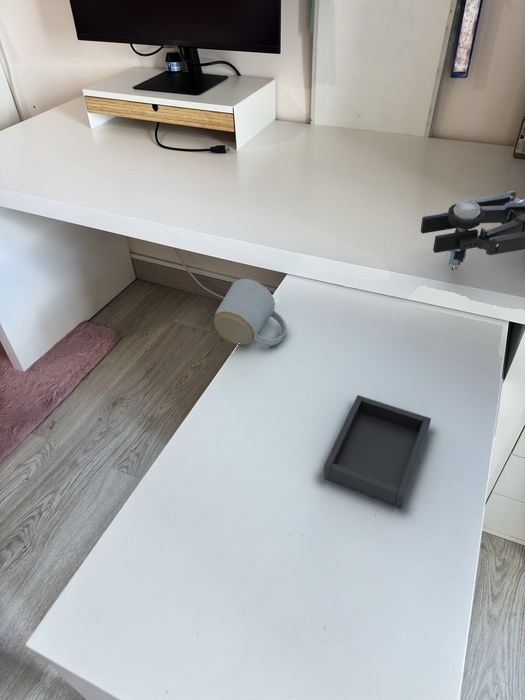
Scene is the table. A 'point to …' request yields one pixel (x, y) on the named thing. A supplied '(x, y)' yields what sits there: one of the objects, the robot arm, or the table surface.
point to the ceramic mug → (247, 314)
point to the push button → (463, 224)
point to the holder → (377, 450)
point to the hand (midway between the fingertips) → (428, 234)
